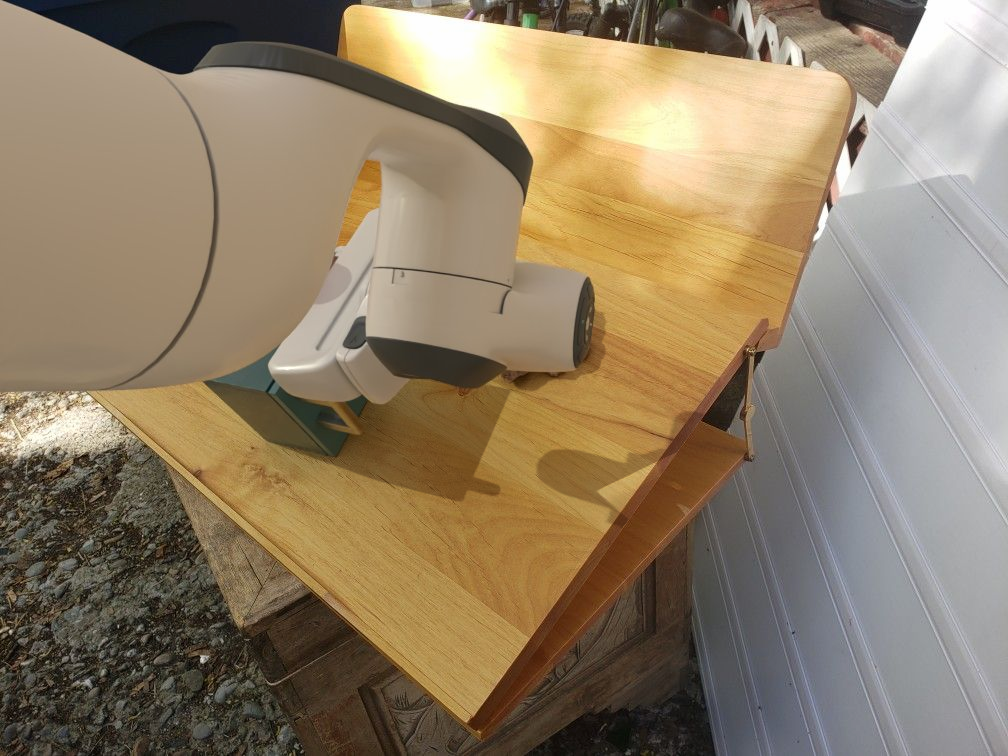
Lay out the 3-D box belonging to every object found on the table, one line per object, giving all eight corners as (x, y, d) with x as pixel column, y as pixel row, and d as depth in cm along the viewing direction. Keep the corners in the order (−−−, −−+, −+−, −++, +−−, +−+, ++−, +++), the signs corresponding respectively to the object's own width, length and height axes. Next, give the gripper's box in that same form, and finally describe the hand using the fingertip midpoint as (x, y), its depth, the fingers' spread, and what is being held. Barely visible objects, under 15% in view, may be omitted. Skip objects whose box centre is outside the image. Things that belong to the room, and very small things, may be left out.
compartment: (382, 358, 88) (332, 286, 77) (328, 456, 81) (265, 391, 70) (322, 349, 92) (267, 279, 81) (265, 440, 85) (197, 377, 75)
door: (427, 365, 84) (383, 293, 74) (374, 467, 78) (317, 402, 67) (383, 358, 87) (335, 287, 77) (329, 455, 80) (267, 392, 70)
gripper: (449, 192, 61) (328, 189, 67) (339, 377, 51) (210, 353, 57) (471, 244, 65) (357, 237, 71) (375, 421, 56) (252, 395, 62)
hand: (291, 290), depth 64 cm, fingers closed on beverage can, 5 cm apart
